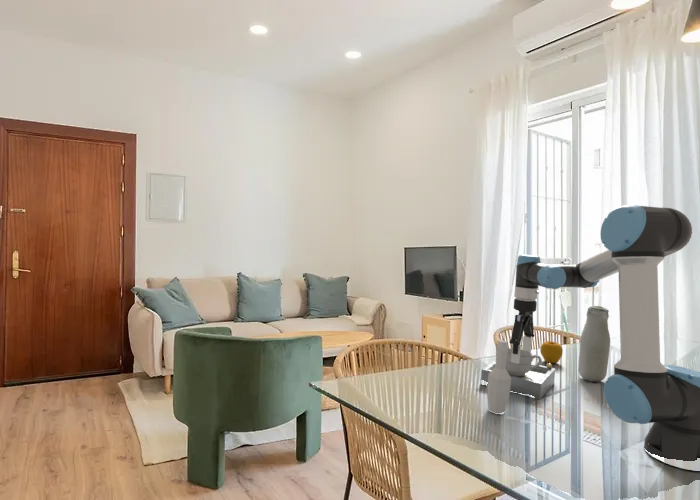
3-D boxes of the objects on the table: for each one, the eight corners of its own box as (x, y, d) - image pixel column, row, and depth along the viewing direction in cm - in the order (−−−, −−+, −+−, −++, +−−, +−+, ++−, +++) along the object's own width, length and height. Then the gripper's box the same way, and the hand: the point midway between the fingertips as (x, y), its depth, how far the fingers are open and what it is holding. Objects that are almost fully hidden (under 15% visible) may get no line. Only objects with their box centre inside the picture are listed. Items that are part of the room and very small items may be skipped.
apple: (534, 359, 204) (536, 338, 203) (551, 358, 206) (553, 338, 205) (548, 366, 196) (550, 345, 195) (566, 365, 198) (568, 344, 197)
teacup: (495, 374, 172) (497, 352, 171) (501, 365, 182) (503, 344, 181) (537, 383, 166) (539, 360, 165) (541, 373, 175) (543, 352, 174)
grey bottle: (602, 377, 186) (610, 305, 183) (608, 387, 176) (617, 310, 173) (574, 373, 189) (581, 302, 186) (578, 382, 179) (586, 307, 176)
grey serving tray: (539, 400, 160) (541, 379, 160) (480, 384, 172) (482, 364, 171) (554, 383, 177) (555, 364, 176) (499, 370, 188) (500, 352, 187)
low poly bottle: (498, 406, 153) (504, 337, 151) (511, 415, 147) (518, 343, 145) (481, 408, 151) (487, 339, 149) (494, 417, 145) (500, 345, 143)
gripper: (526, 305, 159) (521, 369, 160) (545, 296, 179) (540, 353, 181) (503, 301, 163) (498, 364, 165) (524, 293, 183) (520, 349, 185)
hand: (520, 358), depth 173 cm, fingers open, 13 cm apart
